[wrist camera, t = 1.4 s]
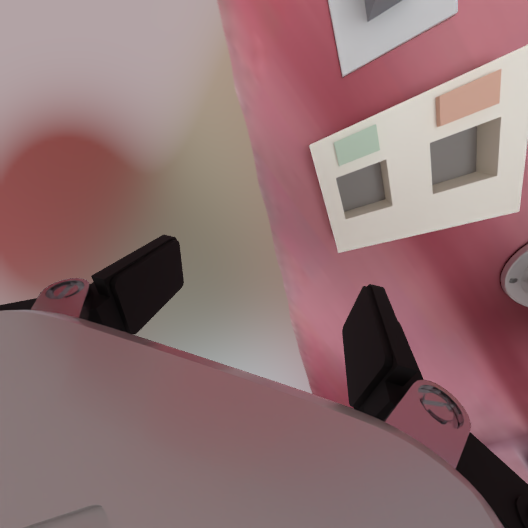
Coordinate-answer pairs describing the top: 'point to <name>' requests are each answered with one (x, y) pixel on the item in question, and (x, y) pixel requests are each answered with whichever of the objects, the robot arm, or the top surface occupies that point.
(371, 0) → the dark grey rectangular prism
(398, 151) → the socket block
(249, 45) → the top surface
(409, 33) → the mat
